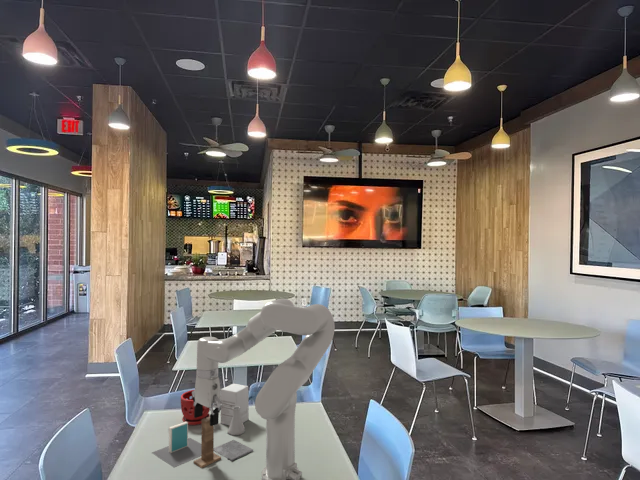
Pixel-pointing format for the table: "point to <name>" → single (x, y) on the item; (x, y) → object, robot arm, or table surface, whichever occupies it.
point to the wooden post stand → (207, 445)
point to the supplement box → (234, 402)
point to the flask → (236, 423)
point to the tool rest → (233, 450)
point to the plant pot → (191, 410)
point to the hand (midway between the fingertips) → (206, 420)
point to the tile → (178, 437)
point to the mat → (180, 453)
